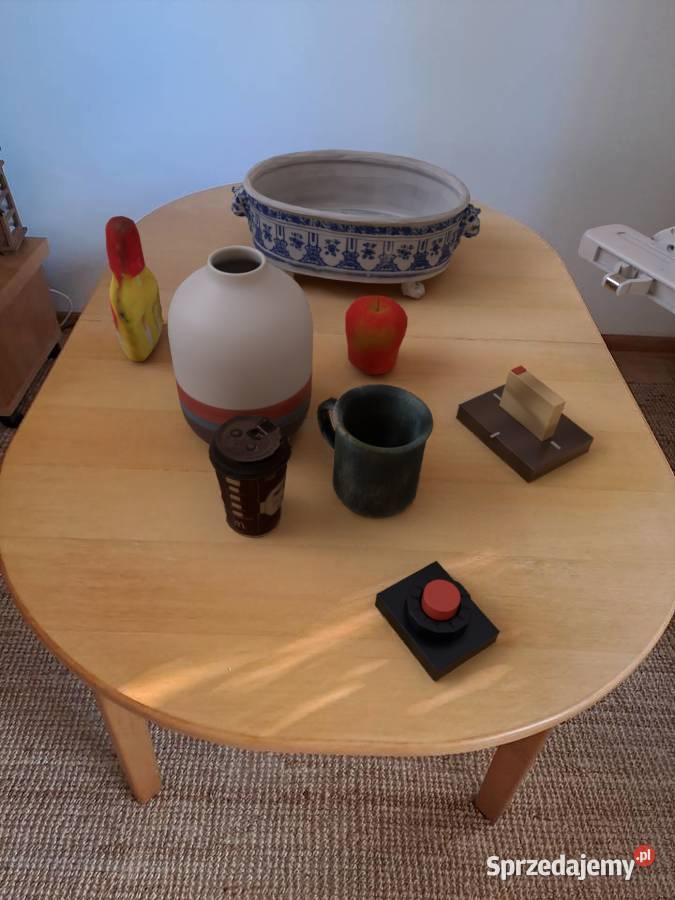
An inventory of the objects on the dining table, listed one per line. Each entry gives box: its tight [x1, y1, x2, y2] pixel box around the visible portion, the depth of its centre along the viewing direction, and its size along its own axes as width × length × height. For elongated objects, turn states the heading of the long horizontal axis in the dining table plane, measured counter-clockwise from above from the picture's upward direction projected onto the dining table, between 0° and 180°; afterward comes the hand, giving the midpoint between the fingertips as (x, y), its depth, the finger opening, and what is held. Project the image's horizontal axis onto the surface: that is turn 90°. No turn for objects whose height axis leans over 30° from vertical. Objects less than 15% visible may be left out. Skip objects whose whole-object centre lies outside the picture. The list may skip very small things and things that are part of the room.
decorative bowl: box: [230, 149, 482, 299], centre depth 114 cm, size 42×27×15 cm, turn 85°
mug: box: [316, 383, 435, 518], centre depth 78 cm, size 11×15×12 cm
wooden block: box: [499, 365, 567, 441], centre depth 86 cm, size 8×2×6 cm, turn 33°
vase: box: [167, 244, 314, 445], centre depth 81 cm, size 17×17×24 cm
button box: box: [374, 560, 501, 683], centre depth 68 cm, size 10×8×4 cm
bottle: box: [104, 215, 165, 362], centre depth 93 cm, size 12×6×20 cm, turn 179°
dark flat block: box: [455, 383, 595, 484], centre depth 89 cm, size 14×12×3 cm
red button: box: [421, 580, 460, 621], centre depth 66 cm, size 4×4×2 cm
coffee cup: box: [208, 414, 293, 538], centre depth 73 cm, size 9×8×13 cm
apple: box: [344, 294, 409, 376], centre depth 94 cm, size 9×8×12 cm
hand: (610, 286), depth 85 cm, fingers closed
